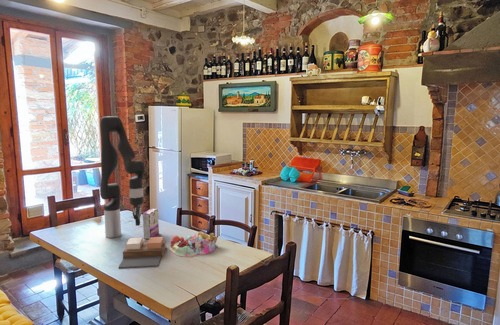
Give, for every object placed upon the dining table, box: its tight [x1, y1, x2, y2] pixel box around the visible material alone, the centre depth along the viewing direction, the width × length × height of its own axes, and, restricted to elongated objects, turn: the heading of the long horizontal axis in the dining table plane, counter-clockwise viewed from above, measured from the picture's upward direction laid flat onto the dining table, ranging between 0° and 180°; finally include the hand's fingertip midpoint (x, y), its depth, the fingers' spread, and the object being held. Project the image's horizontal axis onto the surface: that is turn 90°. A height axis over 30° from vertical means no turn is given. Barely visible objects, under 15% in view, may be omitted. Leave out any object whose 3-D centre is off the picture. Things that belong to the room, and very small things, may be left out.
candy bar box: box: [142, 208, 160, 240], centre depth 210 cm, size 11×5×16 cm, turn 168°
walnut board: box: [122, 239, 166, 260], centre depth 185 cm, size 15×20×4 cm
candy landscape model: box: [170, 230, 219, 258], centre depth 191 cm, size 25×24×9 cm
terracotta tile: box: [147, 236, 164, 249], centre depth 186 cm, size 9×7×3 cm
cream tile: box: [125, 237, 144, 249], centre depth 185 cm, size 9×7×3 cm
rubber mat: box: [118, 256, 162, 270], centre depth 173 cm, size 11×19×1 cm, turn 97°
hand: (137, 225), depth 193 cm, fingers closed
